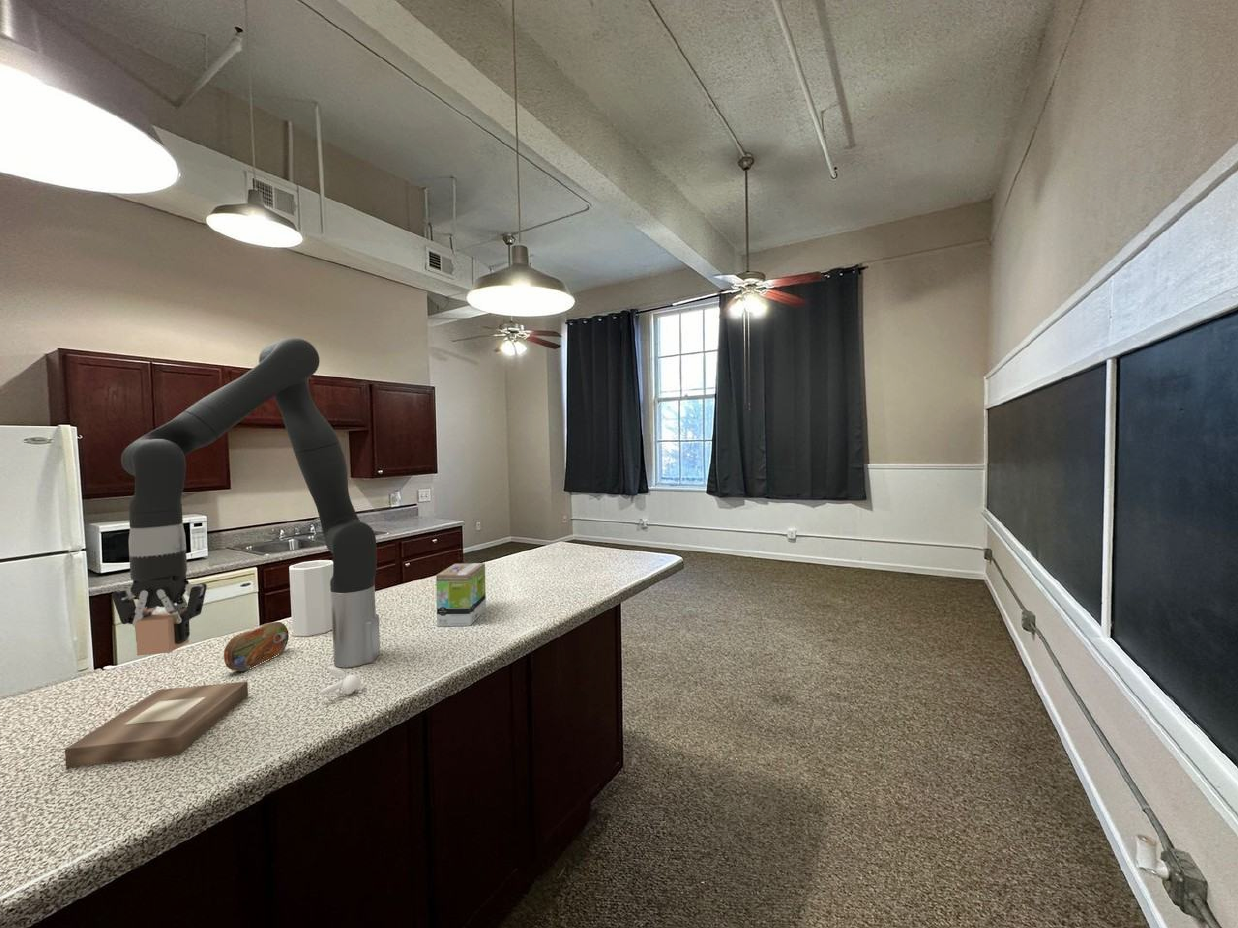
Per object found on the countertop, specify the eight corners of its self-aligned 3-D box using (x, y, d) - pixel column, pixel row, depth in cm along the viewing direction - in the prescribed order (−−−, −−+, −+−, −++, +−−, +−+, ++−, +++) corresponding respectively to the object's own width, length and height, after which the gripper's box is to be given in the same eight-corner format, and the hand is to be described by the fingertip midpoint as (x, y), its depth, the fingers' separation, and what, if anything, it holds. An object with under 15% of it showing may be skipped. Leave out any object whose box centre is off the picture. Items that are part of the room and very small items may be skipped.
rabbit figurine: (362, 697, 100) (320, 688, 96) (355, 708, 101) (313, 699, 98) (370, 671, 105) (330, 661, 101) (362, 681, 106) (323, 672, 103)
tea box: (472, 626, 139) (470, 573, 138) (436, 627, 139) (434, 574, 139) (487, 609, 154) (485, 561, 154) (454, 609, 154) (452, 562, 154)
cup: (345, 626, 142) (342, 561, 141) (303, 640, 132) (300, 570, 132) (324, 620, 148) (322, 558, 147) (283, 632, 138) (280, 566, 138)
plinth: (248, 695, 102) (247, 680, 102) (179, 754, 82) (178, 735, 82) (158, 704, 99) (158, 688, 99) (65, 767, 80) (64, 747, 79)
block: (188, 642, 93) (187, 610, 93) (169, 652, 88) (167, 619, 88) (158, 644, 92) (156, 612, 92) (137, 655, 87) (135, 621, 87)
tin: (233, 677, 111) (231, 640, 111) (221, 676, 111) (219, 639, 111) (290, 650, 126) (289, 617, 125) (280, 649, 126) (278, 616, 126)
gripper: (216, 544, 95) (220, 632, 95) (129, 548, 92) (134, 639, 93) (189, 552, 87) (194, 648, 88) (94, 557, 85) (99, 655, 85)
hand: (163, 643), depth 90 cm, fingers closed on block, 5 cm apart
